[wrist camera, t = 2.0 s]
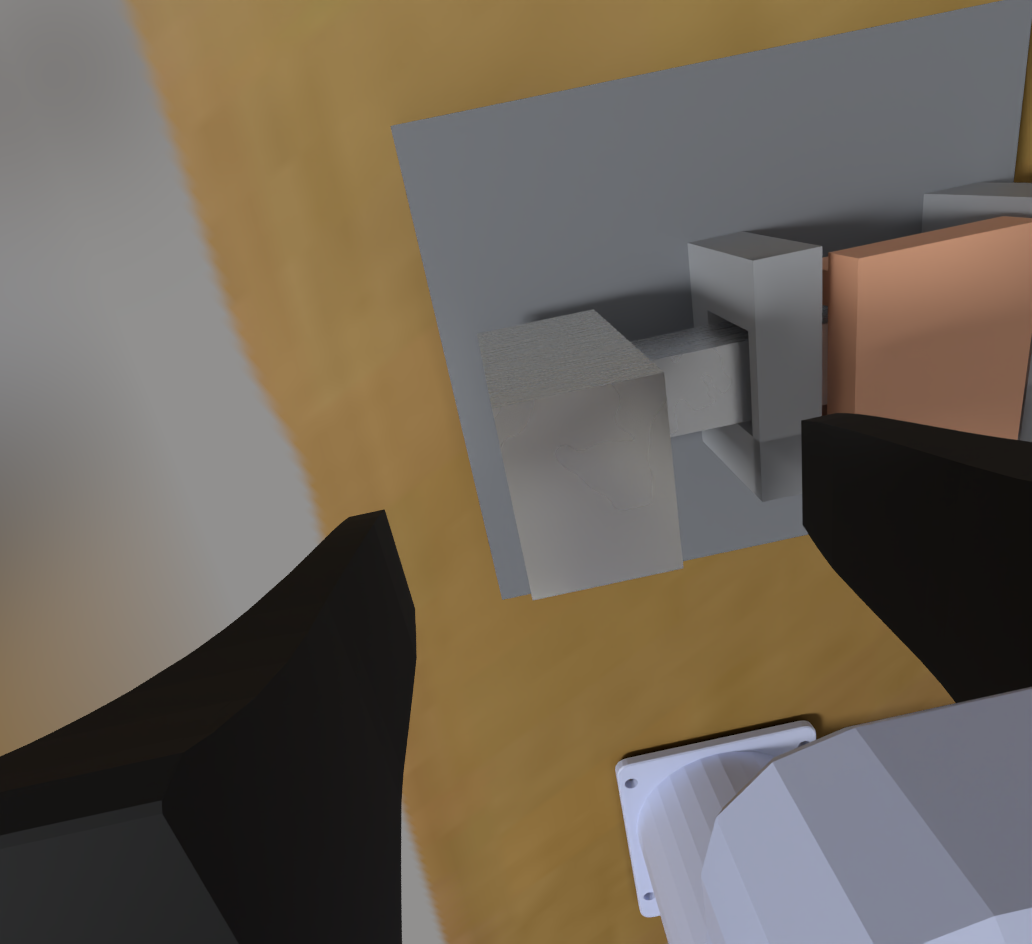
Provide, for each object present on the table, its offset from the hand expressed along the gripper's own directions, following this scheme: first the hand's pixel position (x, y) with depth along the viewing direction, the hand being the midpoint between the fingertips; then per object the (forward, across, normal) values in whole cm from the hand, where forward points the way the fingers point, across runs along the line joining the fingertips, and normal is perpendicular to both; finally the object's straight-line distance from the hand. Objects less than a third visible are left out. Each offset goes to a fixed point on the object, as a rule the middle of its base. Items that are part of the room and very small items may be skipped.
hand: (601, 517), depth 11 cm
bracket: (+9, -5, 0) cm, 11 cm away
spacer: (+6, -9, 0) cm, 11 cm away
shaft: (+7, -5, 0) cm, 9 cm away
